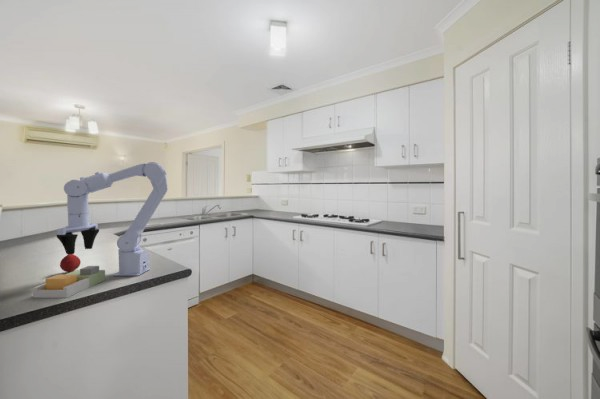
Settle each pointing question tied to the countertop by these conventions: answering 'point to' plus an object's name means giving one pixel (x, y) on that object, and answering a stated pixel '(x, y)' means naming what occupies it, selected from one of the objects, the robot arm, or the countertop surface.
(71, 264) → the onion
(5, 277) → the countertop surface
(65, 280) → the orange block
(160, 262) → the countertop surface
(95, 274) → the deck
